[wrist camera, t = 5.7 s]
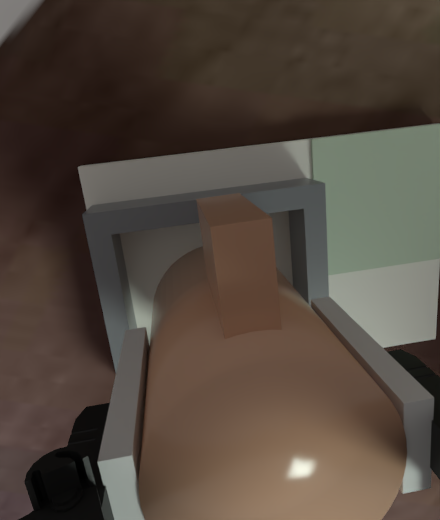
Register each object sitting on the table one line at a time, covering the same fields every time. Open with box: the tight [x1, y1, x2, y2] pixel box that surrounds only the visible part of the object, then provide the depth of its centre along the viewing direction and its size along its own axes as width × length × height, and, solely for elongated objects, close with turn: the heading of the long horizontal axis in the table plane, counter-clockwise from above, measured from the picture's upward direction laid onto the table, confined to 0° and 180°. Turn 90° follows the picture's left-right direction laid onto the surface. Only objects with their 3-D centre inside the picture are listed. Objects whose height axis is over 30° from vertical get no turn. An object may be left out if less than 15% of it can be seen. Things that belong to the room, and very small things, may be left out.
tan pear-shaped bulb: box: [139, 193, 407, 520], centre depth 14 cm, size 9×6×10 cm
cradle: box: [82, 178, 329, 372], centre depth 20 cm, size 10×10×2 cm
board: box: [78, 123, 440, 348], centre depth 22 cm, size 12×18×1 cm, turn 96°
